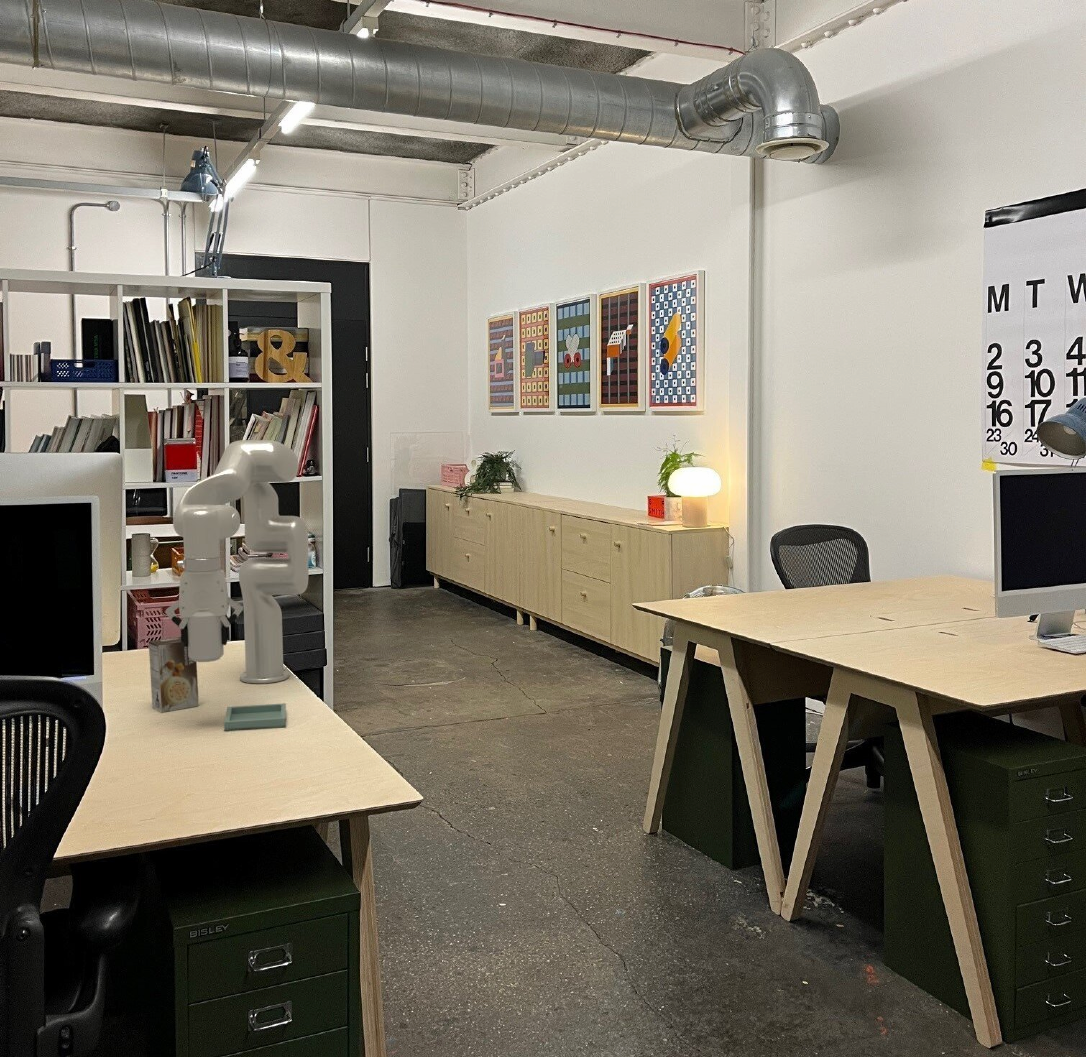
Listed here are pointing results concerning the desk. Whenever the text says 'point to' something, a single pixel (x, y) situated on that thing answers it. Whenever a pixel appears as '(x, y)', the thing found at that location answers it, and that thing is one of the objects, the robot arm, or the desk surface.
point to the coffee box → (172, 675)
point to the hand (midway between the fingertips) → (205, 644)
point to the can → (204, 637)
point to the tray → (255, 717)
